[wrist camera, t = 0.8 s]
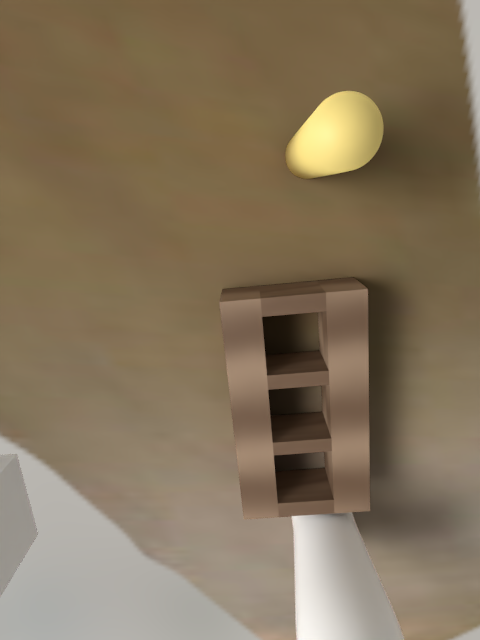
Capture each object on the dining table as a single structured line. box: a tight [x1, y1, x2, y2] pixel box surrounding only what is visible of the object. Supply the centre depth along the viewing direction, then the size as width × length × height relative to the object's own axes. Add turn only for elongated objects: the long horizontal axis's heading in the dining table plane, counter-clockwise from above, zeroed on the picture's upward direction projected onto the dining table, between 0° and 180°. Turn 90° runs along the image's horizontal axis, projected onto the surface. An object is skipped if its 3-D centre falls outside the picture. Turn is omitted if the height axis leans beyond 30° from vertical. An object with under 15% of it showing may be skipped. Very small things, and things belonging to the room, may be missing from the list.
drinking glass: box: [292, 512, 405, 640], centre depth 31 cm, size 7×7×15 cm
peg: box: [285, 91, 383, 179], centre depth 24 cm, size 3×3×12 cm
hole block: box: [219, 277, 370, 519], centre depth 33 cm, size 18×10×4 cm, turn 6°
